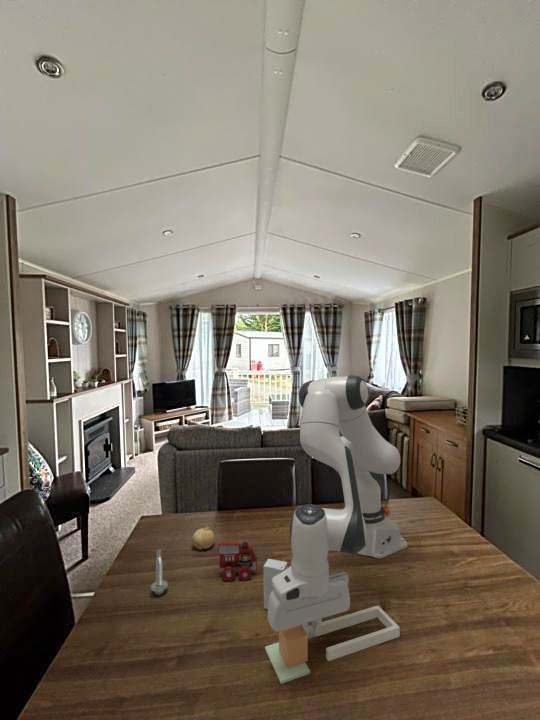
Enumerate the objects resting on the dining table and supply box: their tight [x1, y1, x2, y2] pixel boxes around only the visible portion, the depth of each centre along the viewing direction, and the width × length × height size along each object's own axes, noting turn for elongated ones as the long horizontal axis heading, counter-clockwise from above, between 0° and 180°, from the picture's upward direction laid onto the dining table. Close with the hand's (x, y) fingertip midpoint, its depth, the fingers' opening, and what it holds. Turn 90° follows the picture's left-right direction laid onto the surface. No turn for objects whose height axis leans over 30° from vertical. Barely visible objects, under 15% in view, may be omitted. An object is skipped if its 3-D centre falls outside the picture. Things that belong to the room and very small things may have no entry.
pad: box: [264, 641, 312, 685], centre depth 87 cm, size 10×10×1 cm
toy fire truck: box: [217, 540, 258, 582], centre depth 119 cm, size 7×12×10 cm, turn 93°
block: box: [278, 625, 309, 667], centre depth 87 cm, size 5×5×6 cm
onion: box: [191, 524, 216, 551], centre depth 136 cm, size 8×8×7 cm
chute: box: [315, 605, 401, 662], centre depth 93 cm, size 20×8×3 cm, turn 111°
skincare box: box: [262, 558, 289, 610], centre depth 104 cm, size 6×4×12 cm
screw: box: [150, 548, 169, 596], centre depth 111 cm, size 13×5×5 cm
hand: (310, 636), depth 88 cm, fingers closed
